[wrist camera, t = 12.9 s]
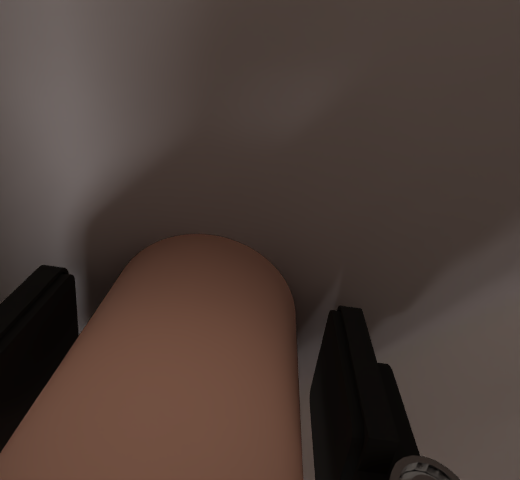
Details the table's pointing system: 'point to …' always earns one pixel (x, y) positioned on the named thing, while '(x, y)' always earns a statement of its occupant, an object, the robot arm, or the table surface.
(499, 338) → the table surface
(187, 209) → the table surface
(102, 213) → the table surface
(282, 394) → the smooth tan pebble
